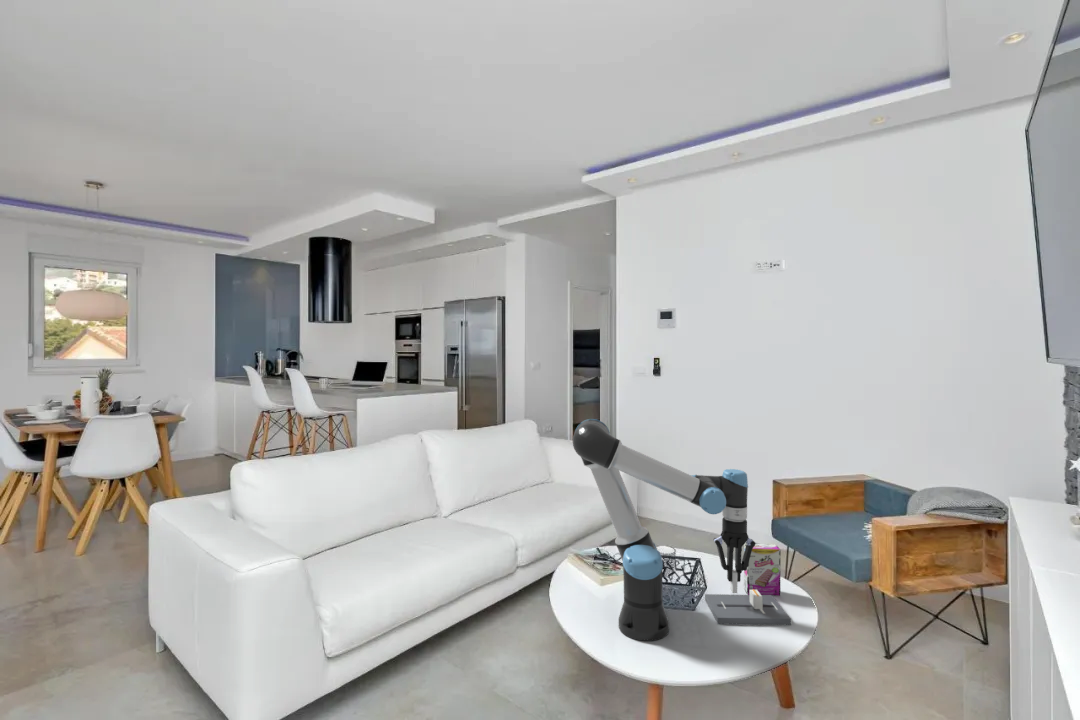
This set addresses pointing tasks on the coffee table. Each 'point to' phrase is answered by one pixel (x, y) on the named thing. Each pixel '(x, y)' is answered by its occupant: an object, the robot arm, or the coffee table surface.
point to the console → (746, 610)
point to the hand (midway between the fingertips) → (733, 591)
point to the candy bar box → (763, 570)
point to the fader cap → (755, 599)
